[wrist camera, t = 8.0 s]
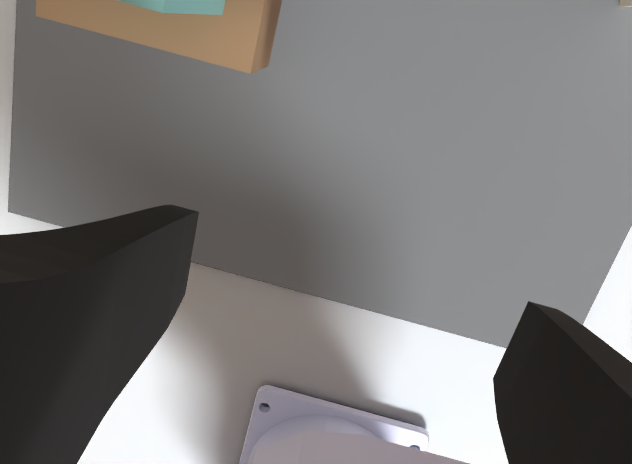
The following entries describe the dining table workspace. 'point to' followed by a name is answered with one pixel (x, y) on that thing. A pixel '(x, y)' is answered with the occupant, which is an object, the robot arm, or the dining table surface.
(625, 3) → the cream block
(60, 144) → the mat
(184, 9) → the teal block
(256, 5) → the walnut base
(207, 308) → the dining table surface
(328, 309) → the dining table surface
